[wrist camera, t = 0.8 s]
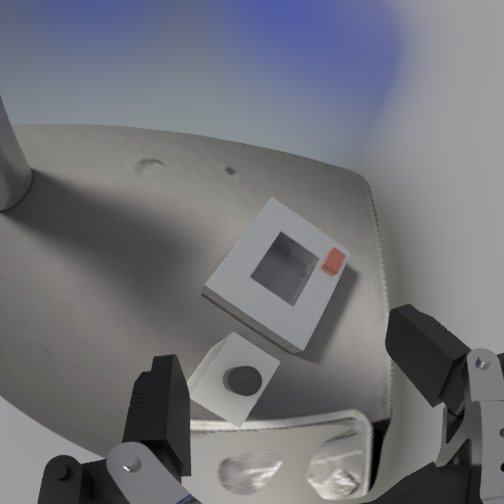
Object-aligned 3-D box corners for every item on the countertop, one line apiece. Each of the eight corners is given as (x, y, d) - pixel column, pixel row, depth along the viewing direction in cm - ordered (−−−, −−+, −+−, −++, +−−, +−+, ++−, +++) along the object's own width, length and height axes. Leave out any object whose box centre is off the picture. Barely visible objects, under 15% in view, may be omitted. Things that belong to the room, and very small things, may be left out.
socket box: (201, 294, 33) (205, 282, 29) (263, 212, 41) (273, 193, 36) (289, 353, 33) (306, 350, 29) (336, 264, 40) (354, 250, 36)
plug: (183, 386, 28) (190, 401, 14) (210, 348, 31) (242, 323, 16) (213, 405, 28) (251, 436, 13) (239, 367, 31) (298, 359, 16)
